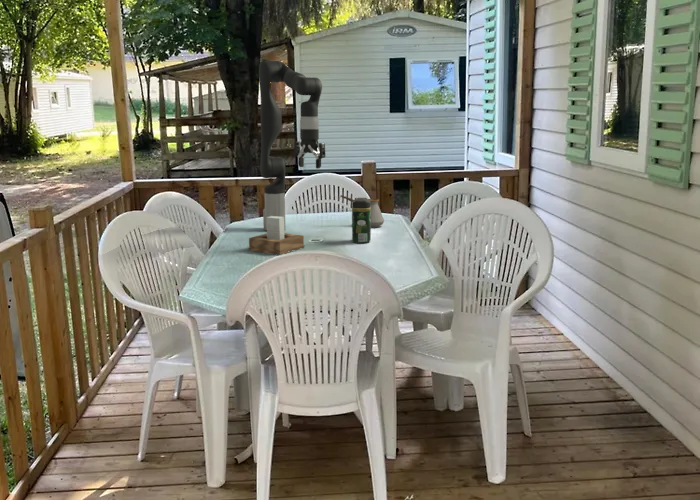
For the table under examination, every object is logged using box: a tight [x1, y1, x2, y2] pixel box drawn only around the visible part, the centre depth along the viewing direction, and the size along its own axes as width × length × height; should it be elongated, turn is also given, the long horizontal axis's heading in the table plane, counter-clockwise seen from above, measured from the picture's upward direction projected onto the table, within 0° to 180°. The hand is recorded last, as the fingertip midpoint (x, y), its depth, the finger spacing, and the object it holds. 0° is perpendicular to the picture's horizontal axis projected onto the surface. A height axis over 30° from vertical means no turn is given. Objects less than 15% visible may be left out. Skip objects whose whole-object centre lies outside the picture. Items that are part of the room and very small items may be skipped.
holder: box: [247, 232, 306, 256], centre depth 276 cm, size 16×16×5 cm
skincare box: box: [266, 216, 285, 240], centre depth 275 cm, size 6×4×12 cm
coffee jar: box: [351, 197, 372, 244], centre depth 289 cm, size 10×8×19 cm
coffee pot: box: [338, 194, 385, 229], centre depth 323 cm, size 21×12×15 cm, turn 91°
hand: (309, 167), depth 283 cm, fingers open, 8 cm apart
